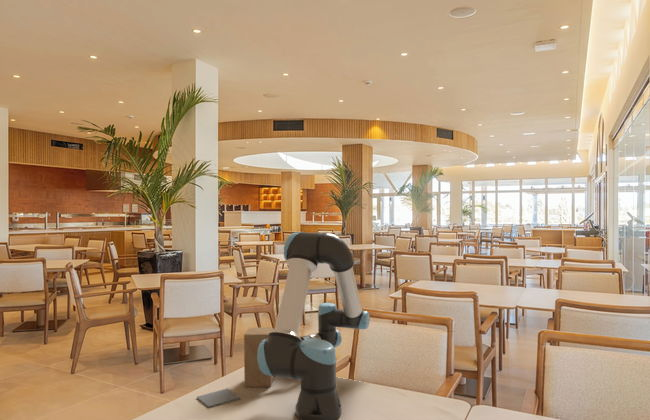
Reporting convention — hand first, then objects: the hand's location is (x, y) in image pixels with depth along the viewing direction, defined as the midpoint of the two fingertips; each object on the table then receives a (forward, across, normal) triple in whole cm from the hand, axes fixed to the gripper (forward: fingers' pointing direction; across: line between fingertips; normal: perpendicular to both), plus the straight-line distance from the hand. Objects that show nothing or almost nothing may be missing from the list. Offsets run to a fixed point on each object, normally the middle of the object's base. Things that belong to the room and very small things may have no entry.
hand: (264, 354), depth 183 cm
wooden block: (+2, -1, -10) cm, 10 cm away
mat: (+22, -5, -10) cm, 24 cm away
